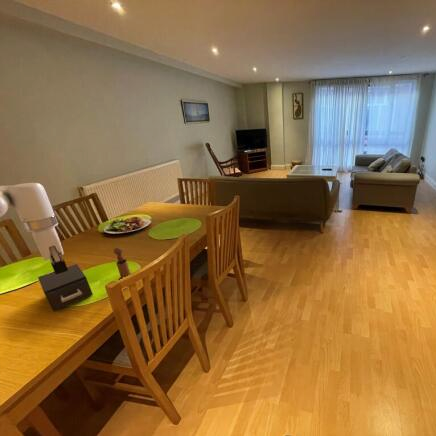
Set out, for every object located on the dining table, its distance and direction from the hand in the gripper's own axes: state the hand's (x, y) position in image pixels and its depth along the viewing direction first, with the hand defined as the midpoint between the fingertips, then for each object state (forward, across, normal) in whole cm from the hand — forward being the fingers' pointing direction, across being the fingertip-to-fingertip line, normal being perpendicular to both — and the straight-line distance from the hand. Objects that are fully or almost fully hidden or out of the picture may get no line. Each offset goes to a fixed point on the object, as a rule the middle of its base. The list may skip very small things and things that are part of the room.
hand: (61, 271), depth 82 cm
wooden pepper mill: (+21, -11, +19) cm, 31 cm away
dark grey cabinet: (+21, -20, 0) cm, 29 cm away
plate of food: (+21, -78, +42) cm, 91 cm away
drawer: (+20, -16, 0) cm, 26 cm away
